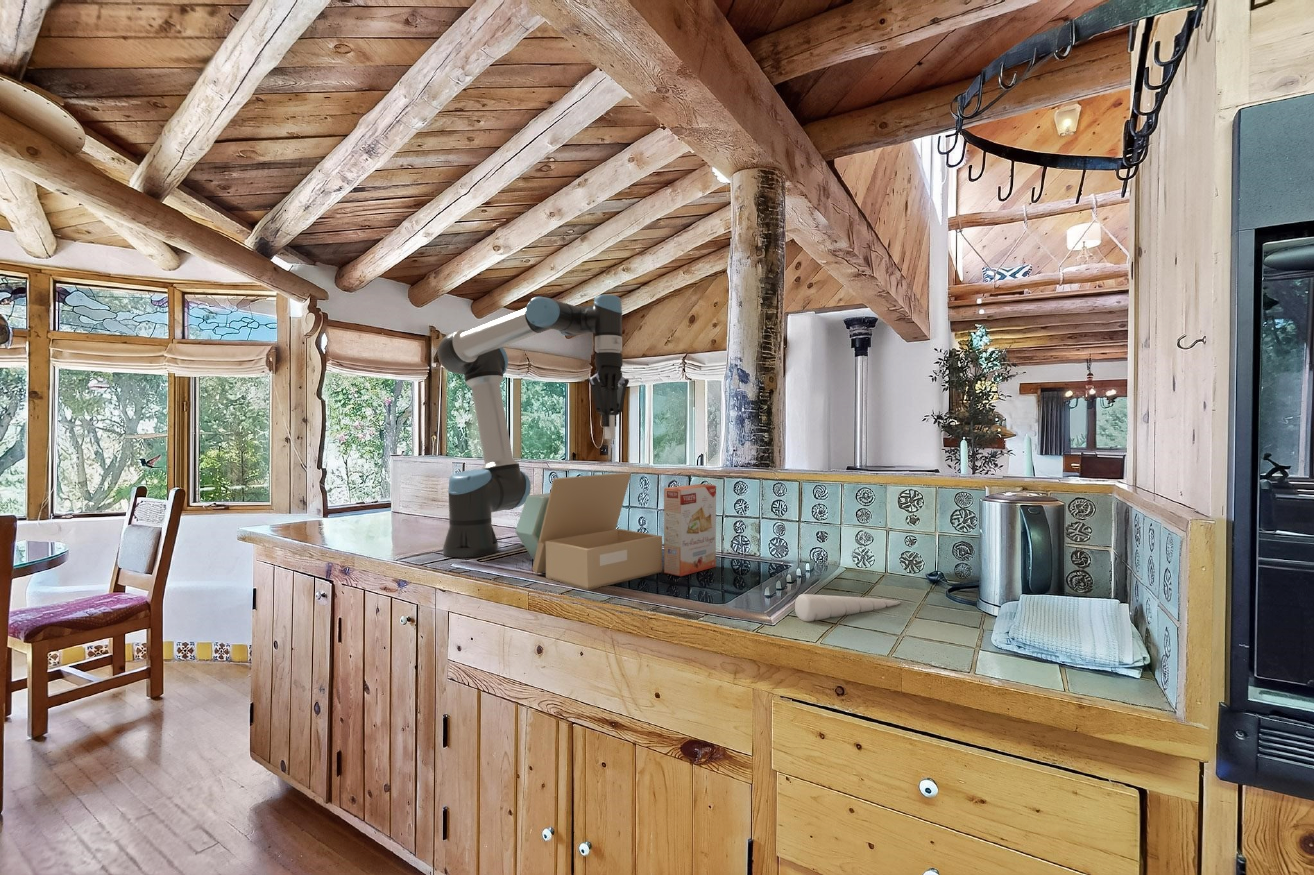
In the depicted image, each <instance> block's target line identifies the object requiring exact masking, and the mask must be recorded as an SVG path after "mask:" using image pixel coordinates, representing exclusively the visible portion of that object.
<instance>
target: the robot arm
mask: <svg viewBox="0 0 1314 875" xmlns="http://www.w3.org/2000/svg"><path fill="white" fill-rule="evenodd" d="M622 309H623V308H622V299H621V298H620V297H619V296H618V295H615V294H599V295H596V296H595V297H594V299H593V304H592V305H586V306H585V305H584V306H576V305H573V304H569V303H565V302H563V301H558V300H557V299H556V300H555V299H553V298H550V297H546V296H545V297H543V296H535V297H532V298H531V299H530V300H529V302H528V303H527V305H526V307H524V308H522V309H520V310H517V311H513V312H512V313H510V314H506V315H504V316H501V317H499V318H496V319H494V320H491V321H489V322H486V323H484V324H481V325H478V326H476V327H474V328H471V329H469V330H465V329H459V330H456V331H454V332H452V333H450V334H447V335H446V336H444V337H443V338H442V339H441V340H440V342H439V344H438V347H437V358H438V361H439V363H440V364H441V365H442V367H443V368H444V369H445V370H447V371H448V372H450V373H453V374H456V375H463V376H464V382H465V385H466V386H468V387H469V388H471V394H472V398H473V402H474V403H473V404H474V409H475V416H476V421H477V428H478V432H479V438H480V439H479V440H480V445H481V449H482V451H481V452H482V455H483V462H484V463H483V464H484V465H483V466H482V467H481V468H479V469H471V470H465V471H464V470H463V471H459V472H456V473H453V474H452V475H451V476H450V477H449V479H448V489H447V492H448V510H449V512H448V513H449V514H448V516H449V517H448V520H449V522H448V523H449V524H448V526H449V527H448V530H447V533H446V537H445V539H444V544H443V546H442V554H443V556H445V557H450V558H475V557H477V558H478V557H483V556H488V555H492V554H495V553H497V552H498V551H499V542H498V538H497V536H496V534H495V530H494V528H493V523H492V513H494V512H500V511H501V512H502V511H510V510H513V509H516V508H520V507H521V506H524V504H525V501H526V498H527V496H528V495H531V488H532V486H531V480H530V478H529V476H528V475H527V474H526V472H524V471H522V470H521V469H520V468H521V467H520V463H519V462H518V461H517V460H515V459H514V457H513V451H512V447H511V446H512V445H511V441H510V435H509V428H508V424H507V418H506V412H505V408H504V401H503V396H502V389H501V383H502V382H503V380H504V374H505V373H506V371H507V370H508V369H507V368H508V366H509V358H508V353H507V351H506V349H505V348H504V347H506V346H509V345H510V344H513V343H516V342H519V341H521V340H524V339H527V338H529V337H532V336H535V335H538V334H541V333H545V332H546V331H549V330H555V331H558V332H560V334H562V335H563V336H577V335H585V334H594V351H595V352H596V353H595V354H594V366H595V367H596V370H595V372H594V373H595V374H594V375H593V376H590V377H588V379H587V380H588V383H589V385H590V387H591V391H592V398H593V402H594V406H595V411H596V413H599V415H600V416H602V427H603V429H604V431H603V432H604V440H615V439H616V432H615V431H616V427H617V416H618V415H620V414H621V413H622V412H623V409H624V402H625V396H626V392H627V387H628V384H629V382H630V379H628V378H625V377H624V376H623V372H622V368H623V354H622V353H621V352H623V335H622V334H623V333H622V332H623V328H622V327H623V323H622V322H623V310H622Z"/></svg>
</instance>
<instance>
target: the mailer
mask: <svg viewBox="0 0 1314 875" xmlns="http://www.w3.org/2000/svg"><path fill="white" fill-rule="evenodd" d="M545 543H546V572H545V578H546V579H549V580H551V579H553V580H552V581H554V580H555V581H556V582H558V581H560V582H559V583H561V582H563V583H562V584H564V583H565V584H564V585H568V584H569V585H568V586H571V587H575V588H579V589H581V590H585V591H591V590H594V589H600V588H602V587H601V586H604V587H607V586H611V585H615V584H619V583H624V582H628V581H631V580H635V579H639V578H643V577H648V576H653V575H656V574H659V573H663V536H662V535H659V534H654V533H653V534H652V533H646V532H640V531H634V530H630V529H622V528H616V529H615V530H609V531H603V532H597V533H590V534H584V535H578V536H572V537H566V538H560V539H554V540H548V541H545ZM555 581H554V582H555ZM599 587H600V588H599Z"/></svg>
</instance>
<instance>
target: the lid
mask: <svg viewBox="0 0 1314 875" xmlns="http://www.w3.org/2000/svg"><path fill="white" fill-rule="evenodd" d="M631 475H632V473H631V472H629V471H628V472H619V473H605V474H592V475H591V474H589V475H580V476H578V475H577V476H568V477H555V478H553V480H552V484H551V488H550V492H549V493H550V496H549V500H548V504H547V508H546V513H545V517H544V521H543V525H542V529H541V534H540V538H539V542H538V546H537V551H536V555H535V559H533V564H532V568H531V570H532V571H533V572H534V573H535V574H536V575H537V574H543V573H546V543H545V541H548V540H554V539H560V538H566V537H572V536H578V535H584V534H590V533H597V532H603V531H609V530H615V529H617V527H618V526H617V525H618V522H619V519H620V516H621V512H622V507H623V505H624V502H625V501H624V500H625V496H626V494H627V490H628V486H629V483H630V479H631Z"/></svg>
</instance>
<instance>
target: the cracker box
mask: <svg viewBox="0 0 1314 875" xmlns="http://www.w3.org/2000/svg"><path fill="white" fill-rule="evenodd" d="M716 534H717V486H716V485H714V484H705V483H704V484H703V483H701V484H700V483H699V484H690V485H681V486H672V487H671V486H670V487H664V488H663V573H664V574H668V575H672V576H676V577H684V576H688V575H690V574H694V573H698V572H702V571H705V570H708V569H711V568H712V569H713V568H715V567H717V566H716V564H717V562H716V561H717V559H716V557H717V556H716V554H717V552H716V551H717V548H716V547H717V542H716V541H717V535H716Z"/></svg>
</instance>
